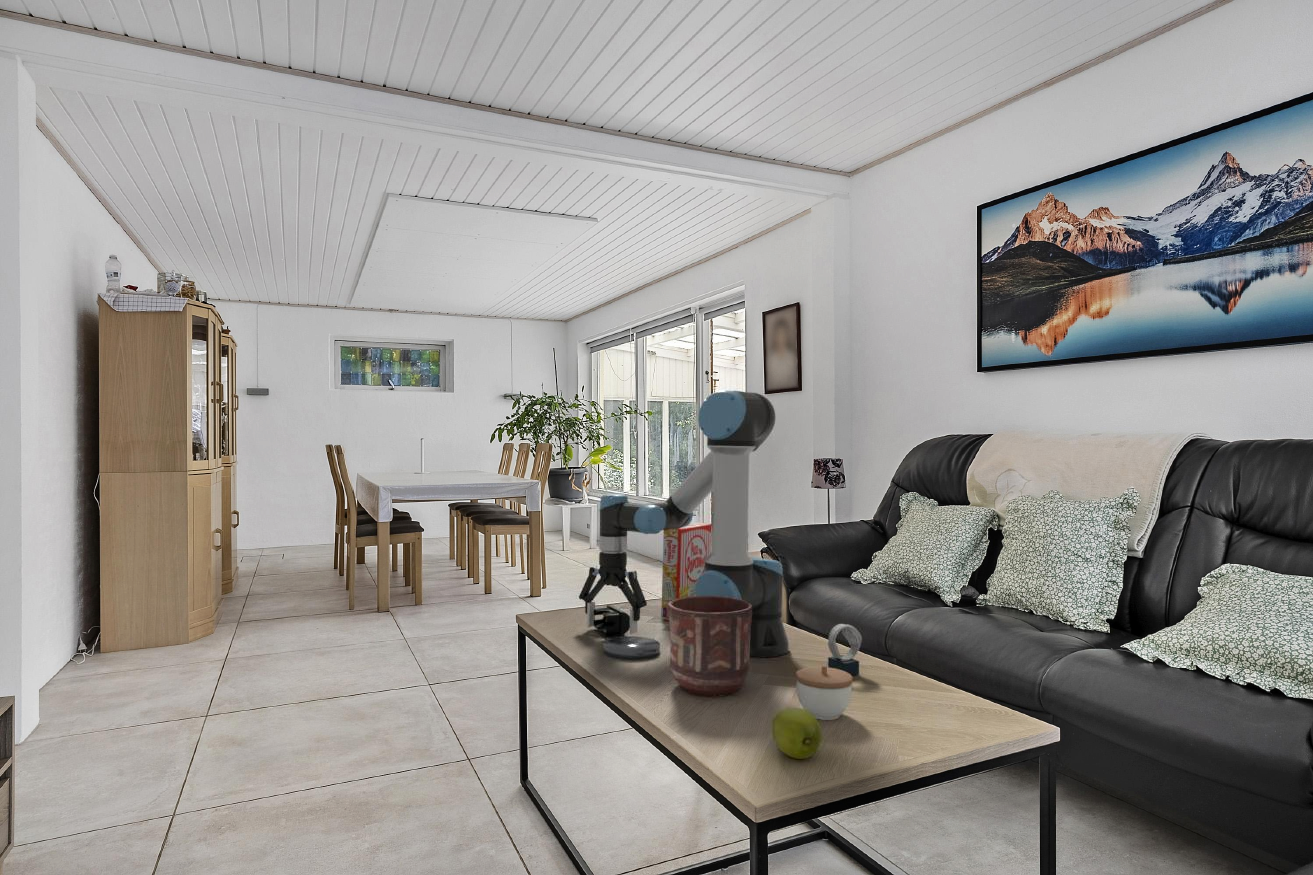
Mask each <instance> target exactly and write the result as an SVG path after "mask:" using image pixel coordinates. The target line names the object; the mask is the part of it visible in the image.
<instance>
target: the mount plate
mask: <svg viewBox="0 0 1313 875" xmlns="http://www.w3.org/2000/svg"><path fill="white" fill-rule="evenodd" d="M602 652H603V654H604V655H606V656H607V657H609V658H612V659H619V660H625V661H626V660H627V661H632V660H633V661H636V660H637V661H638V660H639V661H640V660H646V659H652V658H654V657H655V658H656V657H657V656H659V655H660V653H661V643H660V642H659V641H658V640H656V639H654V638H649V637H645V636H621V637H615V638H608V639H606V640H605V641H604V642H603V650H602Z"/></svg>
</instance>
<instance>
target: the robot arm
mask: <svg viewBox="0 0 1313 875" xmlns="http://www.w3.org/2000/svg"><path fill="white" fill-rule="evenodd" d="M700 405H701V406H700V408H699V410H698V418H697V420H698V426H699V428H700V430H701V431H702V434H704V436H706V439H707V440H706V443H707V444H706V448H708V450H710V451H709V452H708V453H707V455H706V456H704V457H703V459H702V460H701V461H700V463H699V464H697V466H696V467H695V468H694V469H693V470H692V471H691V473H689V475H688V476H687V477H686V478H685V479H684V481H683V482H682V483H681V484H679V486H678V487H677V488H676V489H675V491H674V492H673V493H671V495H670V496H669V497H668V498H667V500H666V501H663V502H662V501H660V502H651V503H630V502H629V499H628V495H627V494H624V493H623V494H622V493H621V494H619V493H610V494H609V493H607V494H606V493H605V494H602V495H601V497H600V504H599V543H598V544H599V546H598V548H599V551H600V552H599V553H598V565H599V567H598V566H597V565H594V566H590V567H589V569H588V576H587V578H586V580H585V583H584V584H583V586H582V589H581V592H580V593H579V595H578V598H579V600H582V601H583V602H584V603H585V605H584V612H585V615H586V619H587V620H586V627H587V628H591V627H594V620H596V615H594V609H596V601H594V599H595V598H596V597H597V596H598V594H599V593H600V591H602V589H603V588H604V587H605V586H607V587H608V586H612V587H618V589H620V591H621V593H622V594H623V595H624V597H625V598H626V599H627V601H628V603H629V604H630V606H631V607H632V608H630V609H629V616H630V629H629V634H631V635H632V634H633V635H634V634H635V633H637V632H638V621H640V619H641V609H642V608H643V607H646V606H647V604H648V603H647V600H646V598H645V596H644V595H645V594H644V592H643V590H642V588H641V585H640V582H639V580H638V572H637V570H635V569H634V570H632V571H630V570H629V571H628V570H627V562H628V553H627V552H626V551H627V549H628V532H632V533H633V532H634V533H640V534H644V535H649V534H650V535H651V534H652V535H657V534H659V533H661V531H664V530H667V529H679V528H682V527H685V526H687V525H689V524H691V523H692V520H693V517H694V512H695V510H697V509H698V507H700V505H701V504H702V502H704V501H705V499H707V497H708V496H710V494H712V499H711V501H712V502H711V503H712V505H711V507H712V509H711V554H710V555H709V556H708V557H707V558H706V559H705V572H704V573H702V574H701V575H700V577H699V578H698V579H697V581H696V585H695V595H696V596H722V597H730V598H736V599H740V600H744V601H746V602H748V603H750V604H751V606H752V619H751V629H750V657H757V658H771V657H779V656H783V655H786V654H787V653H788V652H789V640H788V636H787V633H786V629H785V626H784V622H783V615H782V614H783V588H784V586H783V584H784V583H783V581H784V574H783V565H782V562H780V561H778V560H776V559H768V558H762V557H761V558H759V557H751V556H749V555H748V536H749V535H748V532H749V530H748V529H749V525H748V524H749V522H748V521H749V482H750V481H749V476H750V474H749V473H750V470H749V469H750V454H751V453H754V452H756V451H757V450H758V449H759V447H760V446H762V444H763V443H764V442H765V441H766V440H767V439H768V437H769V436H770V435H771V433H772V431H773V429H774V427H775V424H776V411H775V408H774V405H773V404H772V401H770V400H769V399H768V398H767V397H766V396H764V395H763V394H761V393H758V392H748V391H739V390H734V389H733V390H732V389H727V390H726V389H725V390H723V389H722V390H717V391H714V392H712V393H711V394H710V395H709V394H708V396H707V397H706V399H704V401H703V402H702V403H701V404H700ZM598 575H599V577H600V578H599V579H598V580H597V582H596V584H595V581H596V579H597V576H598ZM626 578H627V579H628V581H627V579H626ZM594 584H595V585H594ZM629 585H630V586H629Z"/></svg>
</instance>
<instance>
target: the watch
mask: <svg viewBox="0 0 1313 875" xmlns="http://www.w3.org/2000/svg"><path fill="white" fill-rule="evenodd" d="M841 630H842V631H841ZM840 632H841V633H842V634H843V636H844V638H845V639H846V640H847V641H848V644H849V645H850V648H849V650H848V651H847V653H846V654H841V653H840V651H839V649H838V645H837V643H836V638H837V635H838V634H839V633H840ZM862 641H863V637H862V635H861V633H860V632H859V630H857V628H856V627H854V626H853V625H851V624H845V623H838V624H836V625H834V626H833V627H832V628H831V630H830V632H829V633H828V642H827V645H828V649H829V652H830V653H831V655H832V656H828V657H827V667H829V668H835V669H839V670H842V671H845V672H847V673H849V674H850V675H851V676H852V677H854V676H859V675H860V661H859V660H857V659H855V657H856V656H857V654H858V652H859V650H860V648H861V644H862Z"/></svg>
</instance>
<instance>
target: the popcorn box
mask: <svg viewBox="0 0 1313 875" xmlns="http://www.w3.org/2000/svg"><path fill="white" fill-rule="evenodd" d="M662 540H663V543H662V545H663V546H662V581H661V584H662V585H661V609H660V610H661V612H660V613H661V614H660V619H661V620H666V621H669V615H668V604H669V602H670V601H673V600H675V599H677V598H682V597H688V596H696V595H695V585H696V581H697V579H698V578H699V577H700V575H701V574H702V573H704V572H705V559H706V558H707V557H708V556H709V555H710V554H711V549H712V523H707V522H706V523H705V522H691V523H690V524H689V525H687V526H685V527H682V528H679V529H667V530H663V539H662Z"/></svg>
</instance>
